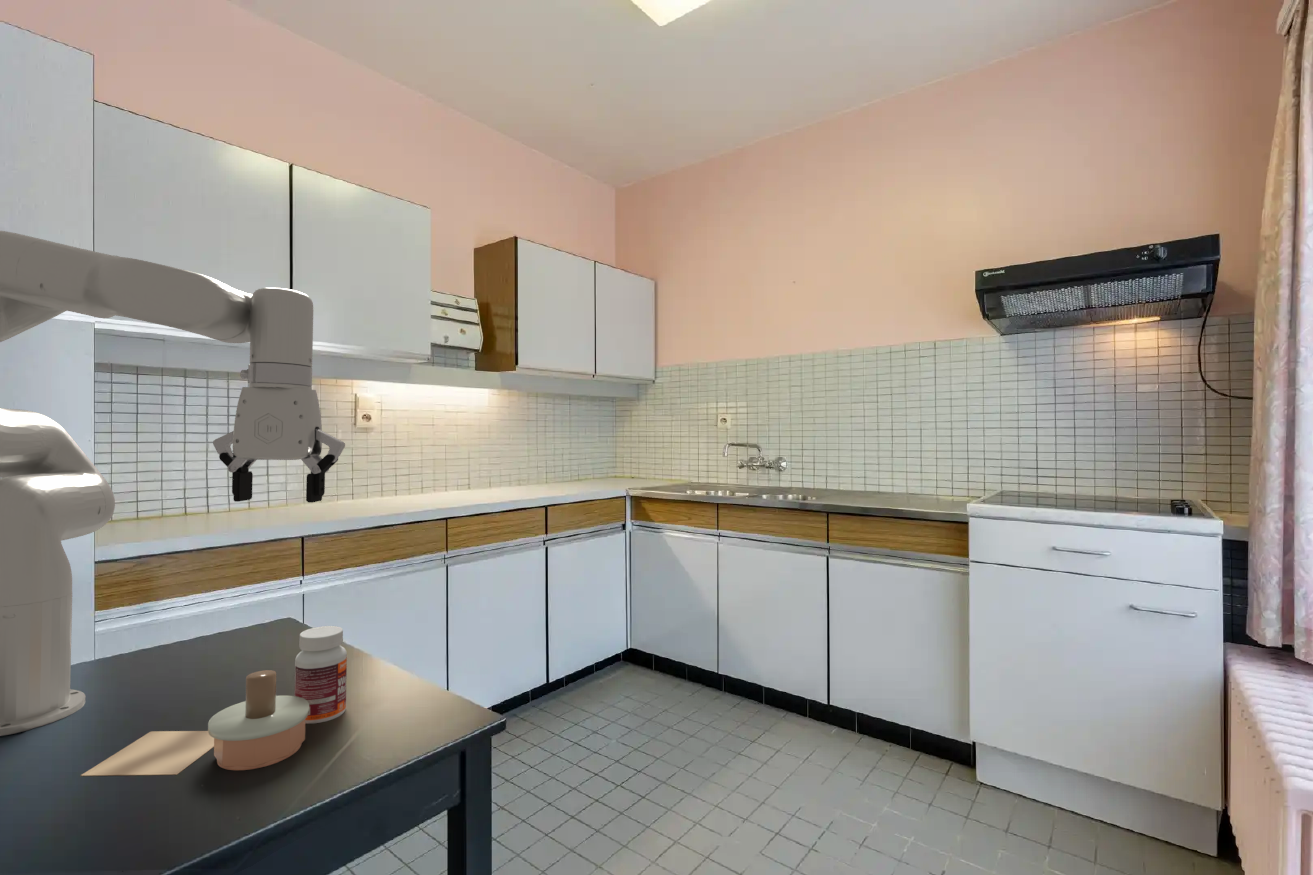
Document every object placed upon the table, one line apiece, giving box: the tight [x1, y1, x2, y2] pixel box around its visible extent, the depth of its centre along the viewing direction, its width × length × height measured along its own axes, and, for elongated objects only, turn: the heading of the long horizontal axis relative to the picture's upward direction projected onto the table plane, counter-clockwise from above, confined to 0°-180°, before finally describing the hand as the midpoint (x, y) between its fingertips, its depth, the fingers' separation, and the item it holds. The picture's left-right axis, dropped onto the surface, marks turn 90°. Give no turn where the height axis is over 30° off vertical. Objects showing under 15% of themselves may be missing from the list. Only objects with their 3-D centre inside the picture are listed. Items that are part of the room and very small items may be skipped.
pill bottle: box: [293, 625, 348, 724], centre depth 83 cm, size 6×6×11 cm
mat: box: [80, 730, 214, 777], centre depth 72 cm, size 10×10×1 cm
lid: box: [207, 669, 309, 741], centre depth 73 cm, size 10×10×5 cm
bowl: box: [213, 719, 306, 771], centre depth 73 cm, size 8×8×4 cm
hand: (278, 501), depth 86 cm, fingers open, 9 cm apart
